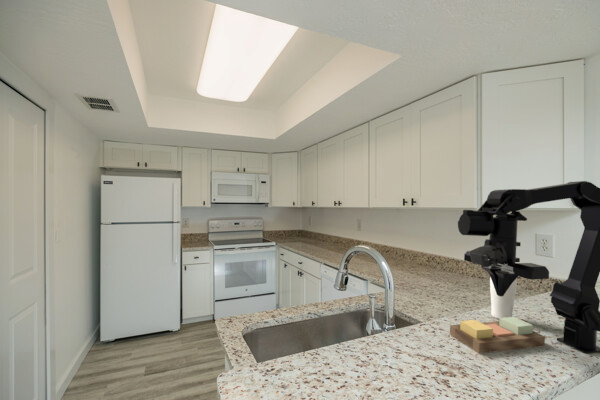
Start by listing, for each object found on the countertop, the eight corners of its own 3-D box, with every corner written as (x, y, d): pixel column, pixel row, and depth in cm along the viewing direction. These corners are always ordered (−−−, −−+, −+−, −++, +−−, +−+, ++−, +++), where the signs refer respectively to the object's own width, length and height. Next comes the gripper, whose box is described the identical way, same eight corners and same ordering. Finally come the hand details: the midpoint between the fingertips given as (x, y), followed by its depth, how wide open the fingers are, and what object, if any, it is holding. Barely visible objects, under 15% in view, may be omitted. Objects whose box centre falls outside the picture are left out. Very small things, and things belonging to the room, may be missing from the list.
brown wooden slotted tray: (509, 328, 77) (510, 320, 77) (544, 346, 68) (544, 336, 68) (449, 334, 73) (450, 325, 72) (478, 353, 64) (479, 343, 64)
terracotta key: (494, 333, 73) (495, 323, 73) (512, 343, 69) (513, 333, 69) (479, 334, 72) (480, 325, 72) (497, 345, 67) (497, 334, 67)
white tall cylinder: (503, 323, 80) (506, 274, 80) (483, 313, 87) (485, 268, 87) (520, 321, 82) (522, 273, 82) (498, 312, 89) (500, 267, 89)
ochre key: (475, 329, 72) (475, 319, 72) (492, 339, 67) (493, 328, 67) (459, 331, 71) (460, 321, 71) (476, 341, 66) (476, 330, 66)
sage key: (513, 326, 75) (513, 316, 75) (532, 335, 70) (533, 325, 70) (499, 327, 74) (499, 317, 74) (517, 336, 69) (518, 326, 69)
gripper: (449, 231, 77) (447, 285, 77) (514, 243, 59) (510, 313, 59) (481, 232, 80) (478, 283, 80) (552, 243, 61) (549, 310, 62)
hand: (500, 295), depth 70 cm, fingers closed
